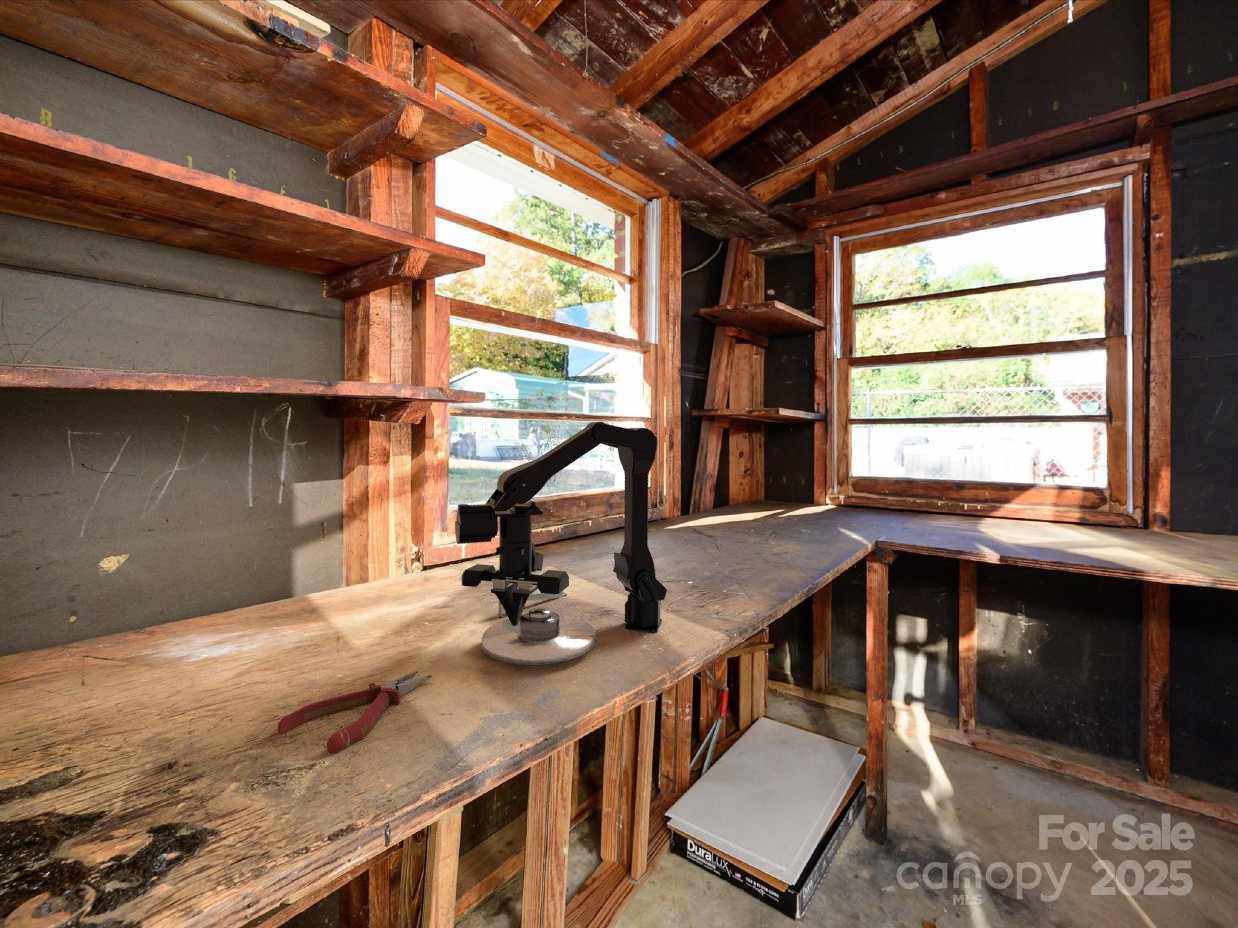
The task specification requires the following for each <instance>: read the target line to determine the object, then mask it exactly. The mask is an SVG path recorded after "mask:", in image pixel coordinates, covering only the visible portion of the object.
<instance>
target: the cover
mask: <svg viewBox="0 0 1238 928" xmlns="http://www.w3.org/2000/svg"><path fill="white" fill-rule="evenodd" d="M559 615H560V614H559V613H557V612H554V611H552V609H551V608H549V607H545V606H538V607H533V608H530V609H528V612H526V613H524V614H522V615H521V617H520V636H521V637H522V638H523V639H525V640H529V641H546V640H551V639H554V638H556V637H557V636H559V634H560V616H559Z"/></svg>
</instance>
